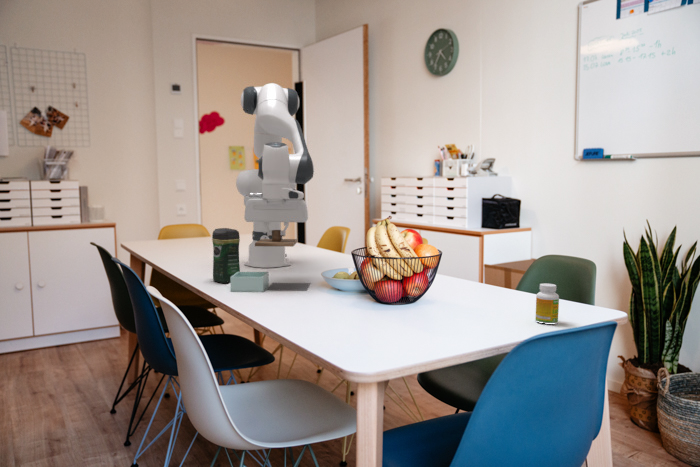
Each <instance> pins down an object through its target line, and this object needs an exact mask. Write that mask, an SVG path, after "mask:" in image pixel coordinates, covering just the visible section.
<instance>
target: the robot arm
mask: <svg viewBox="0 0 700 467" xmlns="http://www.w3.org/2000/svg"><path fill="white" fill-rule="evenodd" d="M240 105H241V108H242V111H243V112H244V113H245V114H248V115H251V116H252V115H255V120H254V128H253V133H254V134H253V153H254V155H255V156H256V157H257V158H258V160H257V163H258V166H257V167H258V168H257V169H256V168H254V169H253V168H252V169H247V170H242V171H240V172H239V173H238V175H237V177H236V181H235V184H236V185H235V187H236V189H237V191H238V192H239V194H240V195H241V196H242V197H243V205H244V206H245V207H244V221H245V222H246V223H253V227H252V228H253V231H252V234H251V237H252V239H251V240H252V241H251V243H250V244H249V245H248V260H247V261H245V262H244V266H248V267H249V266H250V267H252V268H262V269H263V268H264V269H265V268H280V267H281V268H282V267H287V266H291V260H290V259H289V258H288V257H287V256H288V254H287V253H286V246H255V243H256V242H257V241H259V240H260V239H272V230H281V231H280V233H281V234H280V236H281V239H283V237H286V234H287V233H286V231H287V229H288V228H289V227H290V223H306V222H307V221H308V219H309V213H308V206H307V202H306V201H305V199H304V198H305V194H304V191H300V190H297V189H296V187H297V184H301V185H305V184H307V183H308V182H309V181H311V180H312V179H313V178H314V175H315V174H314V173H315V167H314V166H315V165H314V162H313V160H312V158H311V157H312V156H311V155H310V153H309V149H308V146H307V143H306V139H305V136H304V134H303V130H302V128H301V125H300V123H299V120H297V119H296V118H294V117H293V116H294V115H295V114H297V113H298V110H299V108H300V97H299V95H298V92H297V91H296V90H295V89H293V88H290V87H287V88H285V87H282V86H281V85H280V84H278V83H275V82H270V83H266V84H264V85H263V86H253V85H250V86H247V87H245V88H244V89H243V90H242V92H241V96H240ZM283 139H286V140H288V141H290V143H291V144H292V146H293V150H294V153H290V152H289V146H288V144H286V143H284V142H283V141H282V140H283ZM282 223H283V226H284V228H283V230H282Z"/></svg>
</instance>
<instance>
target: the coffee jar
mask: <svg viewBox="0 0 700 467" xmlns="http://www.w3.org/2000/svg"><path fill="white" fill-rule="evenodd" d="M240 239H241V238H240V231H238V229H235V228H234V229H233V228H229V227H221V228H215V229H214V230H213V232H212V237H211V241H212V247H213V248H212V249H213V252H212V253H213V254H212V255H213V258H212V259H213V260H212V262H213V265H212V280H213V281H214V282H217V283H220V284H226V283H230V284H231V281H230V277H231V276H232V275H234V274H235V273H237V272H241V268H240V241H241V240H240Z"/></svg>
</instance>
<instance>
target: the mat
mask: <svg viewBox="0 0 700 467" xmlns="http://www.w3.org/2000/svg"><path fill="white" fill-rule="evenodd" d="M311 284H312V283H311V282H272V283H271V284H269V286H268V287H267V288H266V291H271V292H272V291H280V292H282V291H283V292H286V291H287V292H288V291H289V292H293V291H294V292H307V291H308V289H309V288H310V286H311Z"/></svg>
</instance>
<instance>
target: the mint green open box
mask: <svg viewBox="0 0 700 467" xmlns="http://www.w3.org/2000/svg"><path fill="white" fill-rule="evenodd" d="M269 277H270V276H269V271H240V272H237V273H235V274H234V275H232V276H231V277H230V281H231V283H230V292H231V293H236V292H237V293H264V292H265V291H266V290H267V288H268V287H269V286H270V284H269V281H270V280H269Z"/></svg>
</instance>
